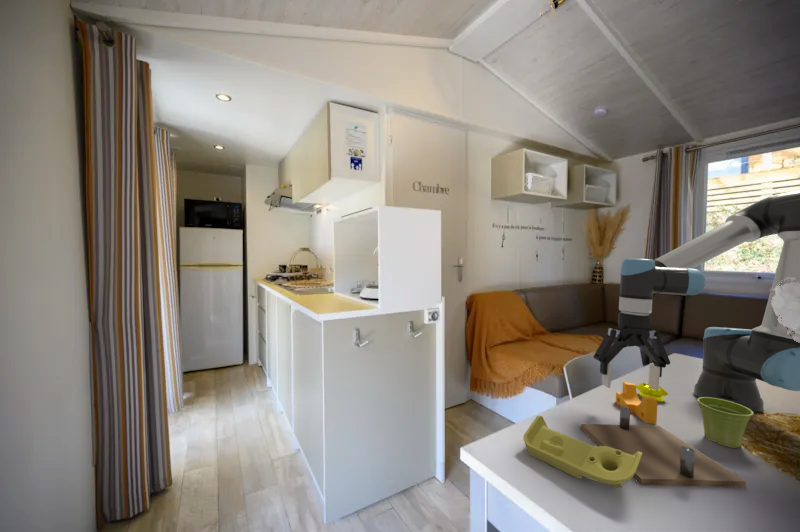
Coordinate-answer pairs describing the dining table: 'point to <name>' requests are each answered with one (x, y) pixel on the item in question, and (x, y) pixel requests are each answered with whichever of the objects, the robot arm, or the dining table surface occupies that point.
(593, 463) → the plastic component
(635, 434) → the base plate
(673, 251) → the robot arm
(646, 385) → the gear
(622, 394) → the pipe clamp
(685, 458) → the locating stubs
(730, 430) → the plant pot
